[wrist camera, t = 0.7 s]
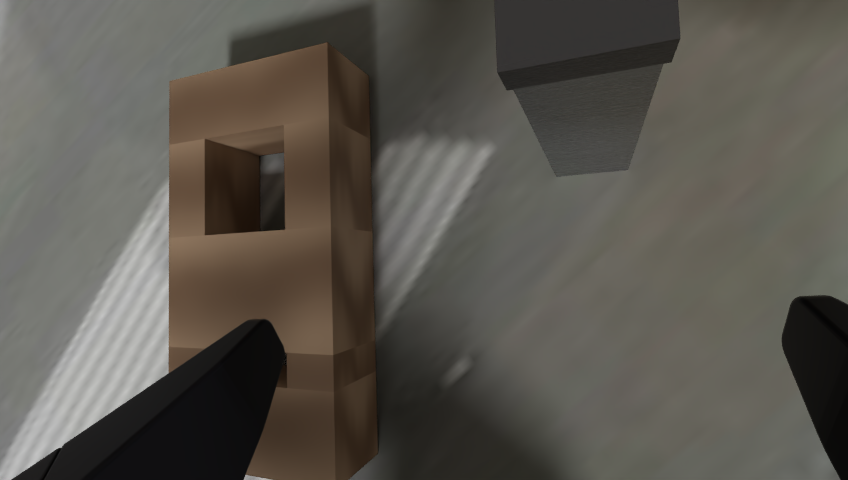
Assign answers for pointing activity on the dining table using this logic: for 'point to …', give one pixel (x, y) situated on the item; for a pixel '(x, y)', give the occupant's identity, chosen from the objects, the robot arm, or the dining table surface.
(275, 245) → the bit block
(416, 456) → the dining table surface
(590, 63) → the block
